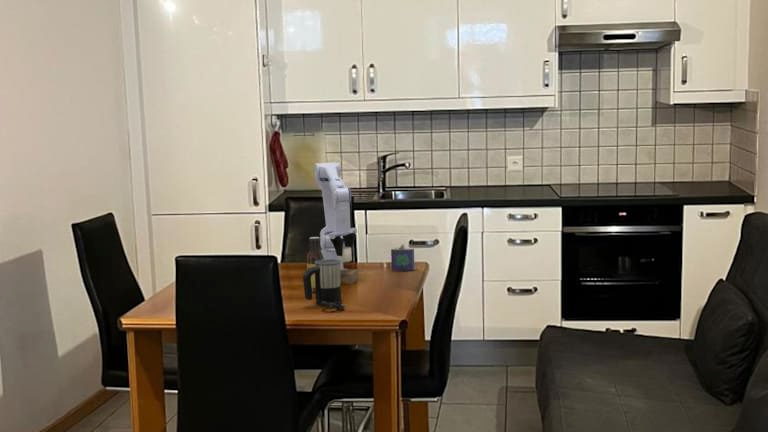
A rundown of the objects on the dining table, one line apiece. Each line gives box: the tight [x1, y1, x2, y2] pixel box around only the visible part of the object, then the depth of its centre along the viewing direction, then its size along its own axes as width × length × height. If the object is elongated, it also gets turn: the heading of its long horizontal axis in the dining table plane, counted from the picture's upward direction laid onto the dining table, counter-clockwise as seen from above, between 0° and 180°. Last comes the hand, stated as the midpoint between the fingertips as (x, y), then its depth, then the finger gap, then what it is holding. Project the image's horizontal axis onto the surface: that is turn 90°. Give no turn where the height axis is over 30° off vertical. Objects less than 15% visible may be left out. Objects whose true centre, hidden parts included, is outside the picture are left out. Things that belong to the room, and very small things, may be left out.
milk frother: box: [302, 259, 345, 311], centre depth 311 cm, size 14×16×15 cm
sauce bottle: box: [306, 236, 324, 293], centre depth 334 cm, size 6×6×20 cm
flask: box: [390, 244, 416, 273], centre depth 365 cm, size 9×3×11 cm, turn 88°
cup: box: [338, 246, 353, 263], centre depth 349 cm, size 5×5×5 cm
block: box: [340, 268, 359, 285], centre depth 350 cm, size 8×8×4 cm
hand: (344, 254), depth 349 cm, fingers closed on cup, 5 cm apart
